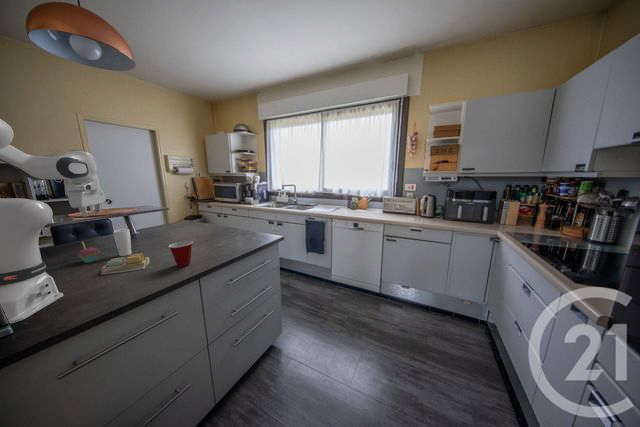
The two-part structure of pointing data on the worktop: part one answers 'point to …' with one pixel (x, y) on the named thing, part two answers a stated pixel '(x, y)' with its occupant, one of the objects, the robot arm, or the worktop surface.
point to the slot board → (122, 266)
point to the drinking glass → (123, 241)
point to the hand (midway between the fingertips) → (92, 214)
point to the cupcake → (88, 254)
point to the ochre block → (135, 258)
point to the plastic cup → (181, 252)
